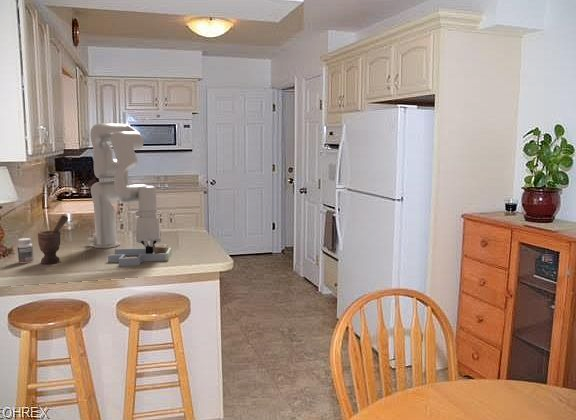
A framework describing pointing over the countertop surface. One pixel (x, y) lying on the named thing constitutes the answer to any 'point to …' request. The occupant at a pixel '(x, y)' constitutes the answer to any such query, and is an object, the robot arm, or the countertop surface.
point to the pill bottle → (25, 251)
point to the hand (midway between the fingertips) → (149, 255)
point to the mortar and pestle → (51, 242)
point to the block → (160, 249)
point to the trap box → (141, 257)
